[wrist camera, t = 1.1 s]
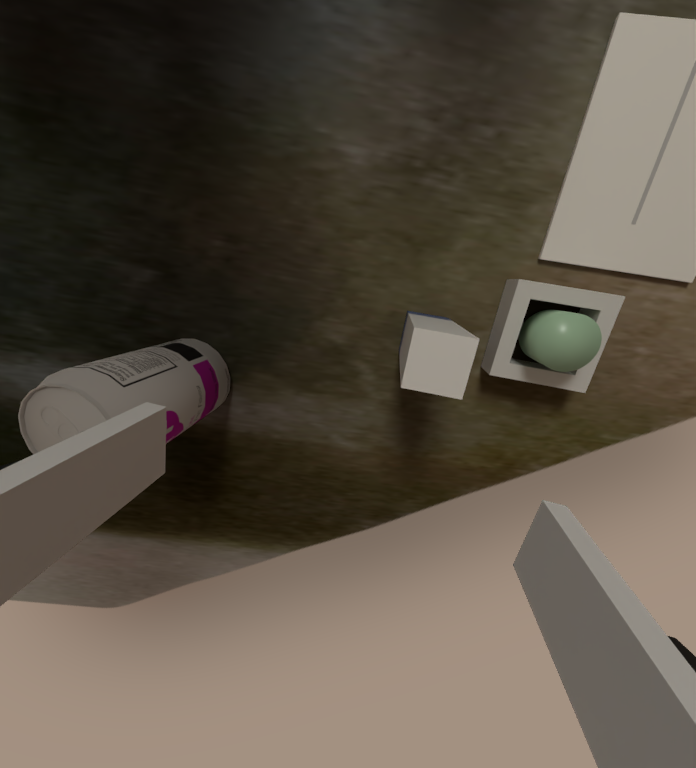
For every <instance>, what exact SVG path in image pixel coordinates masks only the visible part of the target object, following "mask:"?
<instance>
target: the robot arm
mask: <svg viewBox="0 0 696 768" xmlns="http://www.w3.org/2000/svg"><path fill="white" fill-rule="evenodd" d="M166 408H167V407H165V406H161V405H157V404H153V403H149V402H145V403H143V404H141V405H139V406H137V407H135V408H133V409H130V410H128V411H126V412H124V413H122V414H120V415H118V416H115V417H113V418H111V419H109V420H107V421H105V422H103V423H100V424H98V425H96V426H94V427H92V428H90V429H87V430H85V431H83V432H81V433H79V434H77V435H75V436H72V437H70V438H68V439H66V440H64V441H62V442H60V443H57V444H55V445H53V446H51V447H49V448H47V449H45V450H42V451H40V452H38V453H36V454H34V455H32V456H30V457H27V458H25V459H23V460H21V461H17V462H13V463H10V464H6V465H3V466H0V606H1V605H2V604H4V603H5V602H6V601H7V600H9V599H10V598H11V597H12V596H13V595H15V594H16V593H17V592H18V591H20V590H21V589H22V588H23V587H25V586H26V585H27V584H28V583H30V582H31V581H32V580H33V579H35V578H36V577H37V576H38V575H39V574H41V573H42V572H43V571H44V570H46V569H47V568H48V567H49V566H51V565H52V564H53V563H54V562H56V561H57V560H58V559H59V558H60V557H62V556H63V555H64V554H65V553H67V552H68V551H69V550H70V549H72V548H73V547H74V546H75V545H77V544H78V543H79V542H80V541H81V540H83V539H84V538H85V537H86V536H88V535H89V534H90V533H91V532H93V531H94V530H95V529H96V528H98V527H99V526H100V525H101V524H102V523H104V522H105V521H106V520H107V519H109V518H110V517H111V516H112V515H114V514H115V513H116V512H117V511H119V510H120V509H121V508H122V507H123V506H125V505H126V504H127V503H128V502H130V501H131V500H132V499H133V498H135V497H136V496H137V495H138V494H140V493H141V492H142V491H143V490H144V489H146V488H147V487H148V486H149V485H151V484H152V483H153V482H154V481H156V480H157V479H158V478H159V477H161V476H162V475H163V474H164V473H165V456H166ZM513 566H514V568H515V570H516V573H517V575H518V578H519V580H520V583H521V585H522V587H523V589H524V592H525V594H526V597H527V599H528V602H529V604H530V606H531V609H532V611H533V614H534V615H535V618H536V621H537V623H538V625H539V628H540V630H541V633H542V635H543V637H544V640H545V642H546V645H547V647H548V649H549V651H550V654H551V657H552V659H553V661H554V664H555V666H556V668H557V671H558V673H559V676H560V678H561V680H562V683H563V685H564V688H565V690H566V692H567V695H568V697H569V700H570V702H571V704H572V707H573V709H574V711H575V714H576V716H577V719H578V721H579V723H580V726H581V728H582V730H583V733H584V735H585V738H586V740H587V742H588V745H589V747H590V749H591V752H592V754H593V757H594V759H595V762H596V764H597V766H598V768H696V657H695V656H694V655H693V654H692V653H691V652H690V651H689V650H688V649H687V648H686V647H685V646H683V645H682V644H681V643H680V642H679V641H678V640H677V639H676V638H673V637H670V636H667V635H666V634H665V632H664V631H663V630H662V628H661V627H660V626H659V625H658V623H657V622H656V621H655V619H654V618H653V617H652V616H651V614H650V613H649V612H648V610H647V609H646V608H645V606H644V605H643V604H642V603H641V602H640V600H639V599H638V597H637V596H636V595H635V594H634V592H633V591H632V590H631V589H630V587H629V586H628V585H627V584H626V582H625V581H624V579H623V578H622V577H621V575H620V574H619V573H618V572H617V570H616V569H615V568H614V566H613V565H612V564H611V563H610V561H609V560H608V559H607V557H606V556H605V555H604V554H603V552H602V551H601V550H600V549H599V547H598V546H597V544H596V543H595V542H594V541H593V539H592V538H591V537H590V536H589V534H588V533H587V532H586V530H585V529H584V528H583V526H582V525H581V524H580V523H579V521H578V520H577V519H576V517H575V516H574V515H573V514H572V512H571V511H570V510H569V508H568V507H567V506H564V505H560V504H556V503H552V502H548V501H544V500H543V501H542V503H541V505H540V507H539V509H538V511H537V514H536V516H535V518H534V520H533V522H532V524H531V527H530V529H529V531H528V533H527V535H526V537H525V540H524V542H523V544H522V546H521V548H520V551H519V553H518V555H517V557H516V559H515V562H514V564H513Z"/></svg>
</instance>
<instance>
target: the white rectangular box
mask: <svg viewBox="0 0 696 768" xmlns="http://www.w3.org/2000/svg"><path fill="white" fill-rule="evenodd" d="M478 343H479V338H477V337H476V336H474V335H473V334H471V333H470V332H468V331H467V330H465V329H464V328H462V327H461V326H459V325H458V324H456V323H455V322H453V321H452V320H450V319H449V318H445V317H439V316H434V315H428V314H422V313H417V312H411V311H407V315H406V319H405V324H404V329H403V333H402V338H401V343H400V347H399V362H400V383H401V388H405V389H410V390H415V391H420V392H425V393H431V394H436V395H441V396H446V397H451V398H456V399H461V400H462V398H463V394H464V391H465V388H466V384H467V381H468V377H469V374H470V370H471V367H472V363H473V360H474V357H475V353H476V350H477V346H478Z"/></svg>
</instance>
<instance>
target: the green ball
mask: <svg viewBox="0 0 696 768" xmlns="http://www.w3.org/2000/svg"><path fill="white" fill-rule="evenodd" d="M601 341H602V335H601V330H600V328H599V326H598V324H597V323H596V322H595V321H594V320H593V319H592V318H590V317H588V316H586V315H583V314H579V313H573V312H567V311H561V310H554V309H548V310H542V311H539V312H537V313H535V314H533V315H532V316H531V317H529V318H528V319H527V320H526V321H525V323H524V324H523V326H522V328H521V330H520V333H519V344H520V347H521V349H522V351H523V352H524V353H525V354H526V355H527V356H528V357H530V358H532V359H534V360H535V361H537V362H539V363H541V364H543V365H544V366H546V367H548V368H550V369H552V370H555V371H559V372H569V371H574V370H577V369H580V368H582V367H584V366H585V365H587V364H588V363H589V362H590V361H591V360H592V359H593V358H594V357H595V356H596V354H597V353H598V351H599V349H600V346H601Z"/></svg>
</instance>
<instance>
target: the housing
mask: <svg viewBox="0 0 696 768" xmlns="http://www.w3.org/2000/svg"><path fill="white" fill-rule="evenodd" d="M530 299H531V300H537V301H543V302H549V303H555V304H561V305H567V306H573V307H579V308H580V310H579V314H583V315H586V316H588V317H590V318H592V319H593V320H594V321H595V322H596V323H597V324H598V326H599V328H600V330H601V335H602V341H601V346H600V349H599V351H598V353H597V354H596V356H595V357H594V358H593V359H592V360H591V361H590V362H589V363H588V364H587V365H585V366H584V367H582V368H580V369H577V370H574V371H569V372H559V371H555V370H552V369H550V368H548V367H546V366H544V365H543V364H540V363H535V362H529V361H524V360H518V359H513V358H511V357H512V354H513V351H514V348H515V345H516V342H517V339H518V335H519V332H520V329H521V326H522V323H523V320H524V317H525V314H526V311H527V308H528V305H529V302H530ZM624 299H625V296H620V295H613V294H607V293H601V292H595V291H589V290H583V289H577V288H571V287H564V286H558V285H552V284H546V283H540V282H534V281H528V280H521V279H508V280H507V281H506V284H505V288H504V291H503V294H502V298H501V301H500V304H499V308H498V311H497V314H496V318H495V321H494V324H493V328H492V331H491V334H490V338H489V341H488V344H487V348H486V351H485V354H484V357H483V361H482V364H481V367H482V368H483V369H484V370H485V371H486V372H487V373H488V374H489V375H492V376H498V377H503V378H508V379H514V380H519V381H524V382H530V383H535V384H540V385H546V386H551V387H556V388H561V389H567V390H572V391H577V392H583V393H585V392H586V390H587V388H588V385H589V383H590V380H591V378H592V376H593V373H594V371H595V368H596V366H597V364H598V361H599V359H600V356H601V354H602V352H603V349H604V347H605V344H606V342H607V340H608V337H609V335H610V332H611V330H612V328H613V325H614V323H615V320H616V318H617V316H618V313H619V311H620V308H621V306H622V304H623V301H624Z"/></svg>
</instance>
